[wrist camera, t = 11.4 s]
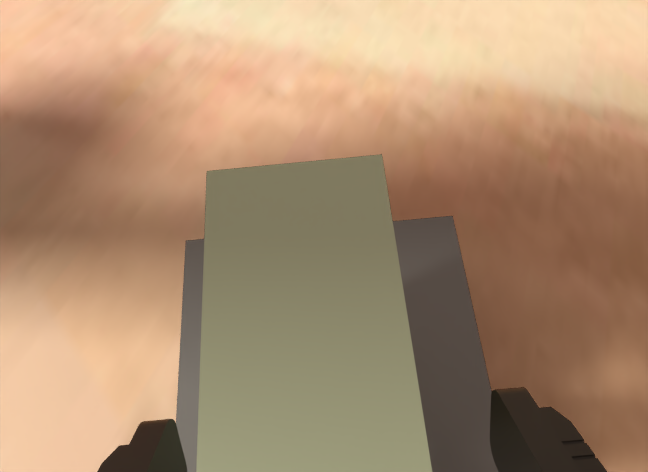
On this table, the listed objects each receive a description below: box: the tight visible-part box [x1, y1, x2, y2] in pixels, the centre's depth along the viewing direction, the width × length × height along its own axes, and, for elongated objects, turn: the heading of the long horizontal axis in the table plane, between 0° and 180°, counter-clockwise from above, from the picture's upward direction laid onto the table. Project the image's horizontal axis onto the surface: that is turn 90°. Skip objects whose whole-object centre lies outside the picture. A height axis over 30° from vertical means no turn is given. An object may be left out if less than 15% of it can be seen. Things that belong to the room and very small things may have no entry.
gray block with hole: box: [176, 216, 498, 472], centre depth 20 cm, size 12×14×5 cm
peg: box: [196, 155, 432, 472], centre depth 14 cm, size 3×5×16 cm, turn 4°
